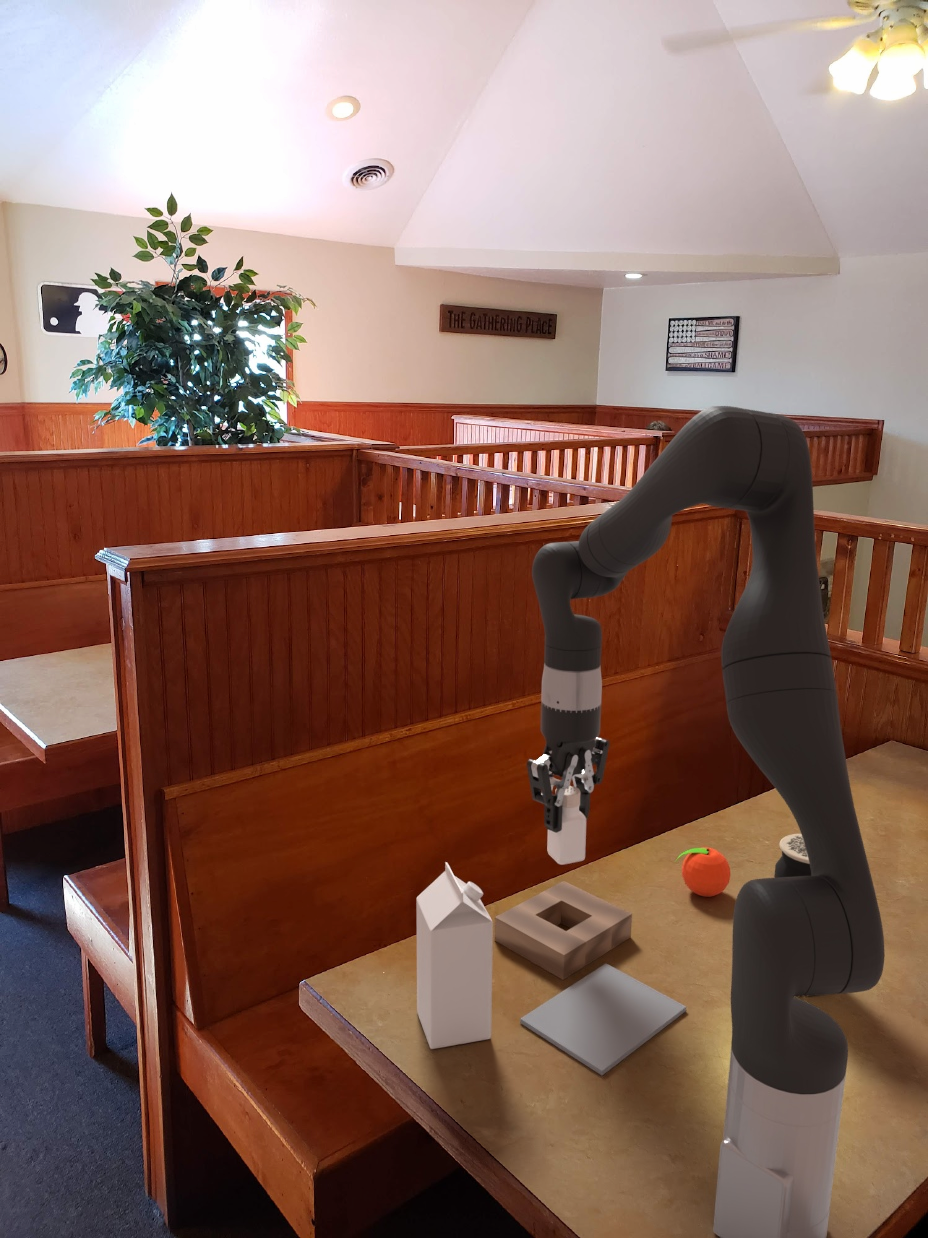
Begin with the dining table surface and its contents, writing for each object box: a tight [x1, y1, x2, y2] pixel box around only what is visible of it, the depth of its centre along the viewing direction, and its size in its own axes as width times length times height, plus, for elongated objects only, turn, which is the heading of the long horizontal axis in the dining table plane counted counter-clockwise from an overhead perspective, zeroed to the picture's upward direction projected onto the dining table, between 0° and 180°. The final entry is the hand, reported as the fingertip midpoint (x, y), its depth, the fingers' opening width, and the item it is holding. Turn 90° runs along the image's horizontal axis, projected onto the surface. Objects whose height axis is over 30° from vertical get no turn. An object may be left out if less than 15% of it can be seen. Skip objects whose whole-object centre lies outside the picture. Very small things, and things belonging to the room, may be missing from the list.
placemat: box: [519, 963, 687, 1076], centre depth 112 cm, size 16×12×1 cm
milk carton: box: [416, 861, 494, 1050], centre depth 108 cm, size 7×7×19 cm
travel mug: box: [773, 833, 811, 878], centre depth 118 cm, size 8×8×18 cm
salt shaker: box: [546, 785, 587, 866], centre depth 124 cm, size 4×4×10 cm
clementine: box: [674, 846, 732, 898], centre depth 139 cm, size 8×7×7 cm
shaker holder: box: [494, 880, 633, 981], centre depth 128 cm, size 14×12×4 cm
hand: (567, 823), depth 124 cm, fingers closed on salt shaker, 4 cm apart
